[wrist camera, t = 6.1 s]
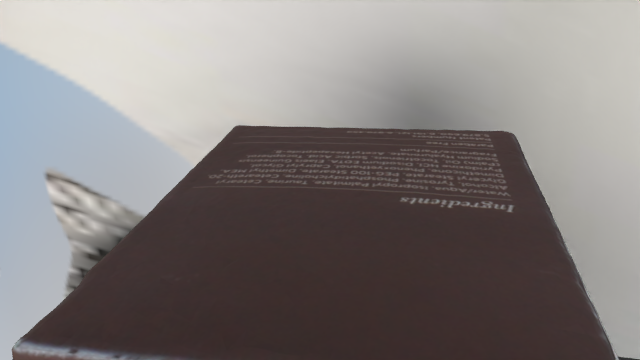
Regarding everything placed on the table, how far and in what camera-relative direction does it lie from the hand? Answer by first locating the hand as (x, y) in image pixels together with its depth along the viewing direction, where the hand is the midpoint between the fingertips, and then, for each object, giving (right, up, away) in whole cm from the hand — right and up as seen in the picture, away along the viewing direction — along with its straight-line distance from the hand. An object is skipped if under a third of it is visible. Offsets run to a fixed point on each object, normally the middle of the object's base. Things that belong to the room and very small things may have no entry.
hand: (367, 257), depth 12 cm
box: (0, 0, 0) cm, 1 cm away
